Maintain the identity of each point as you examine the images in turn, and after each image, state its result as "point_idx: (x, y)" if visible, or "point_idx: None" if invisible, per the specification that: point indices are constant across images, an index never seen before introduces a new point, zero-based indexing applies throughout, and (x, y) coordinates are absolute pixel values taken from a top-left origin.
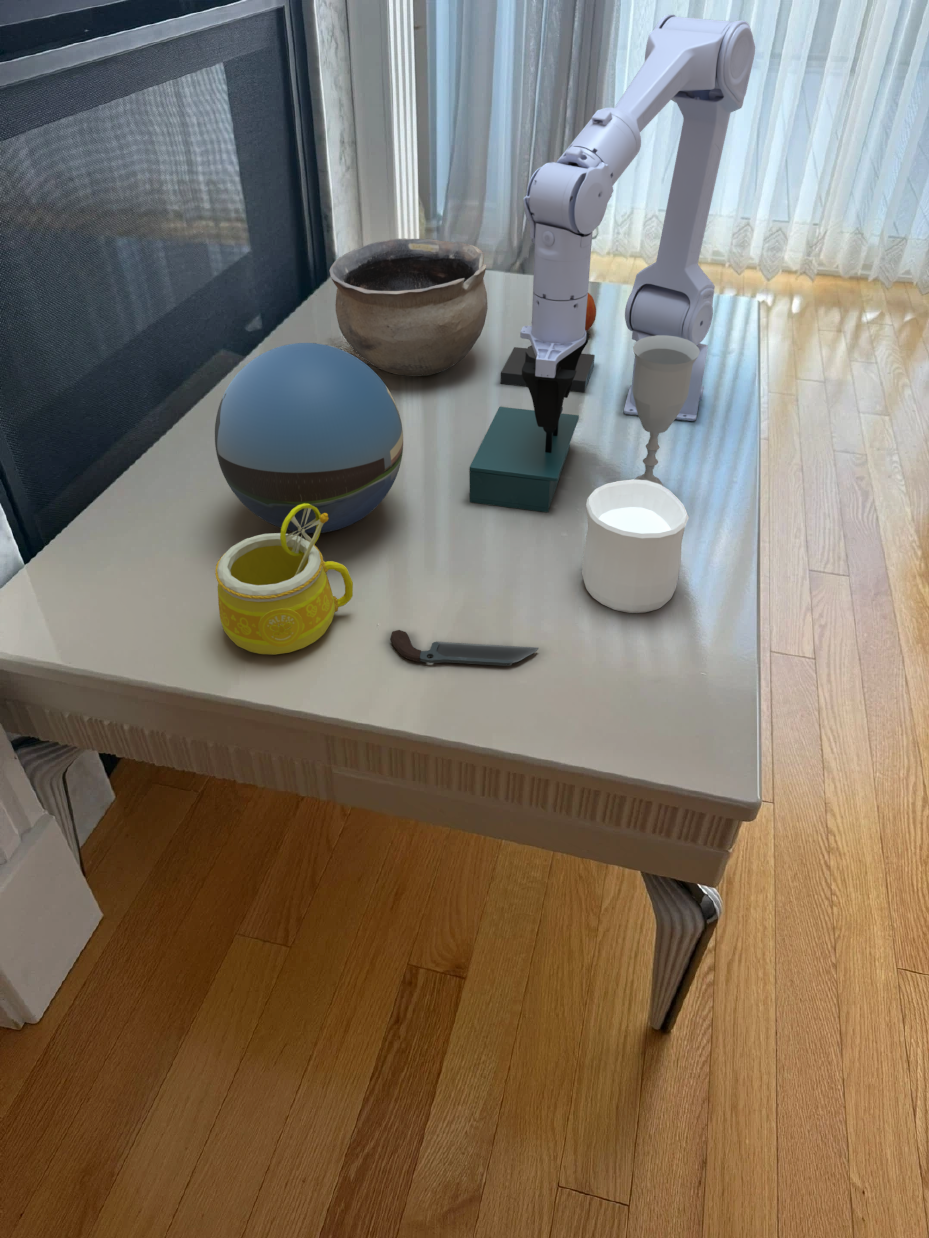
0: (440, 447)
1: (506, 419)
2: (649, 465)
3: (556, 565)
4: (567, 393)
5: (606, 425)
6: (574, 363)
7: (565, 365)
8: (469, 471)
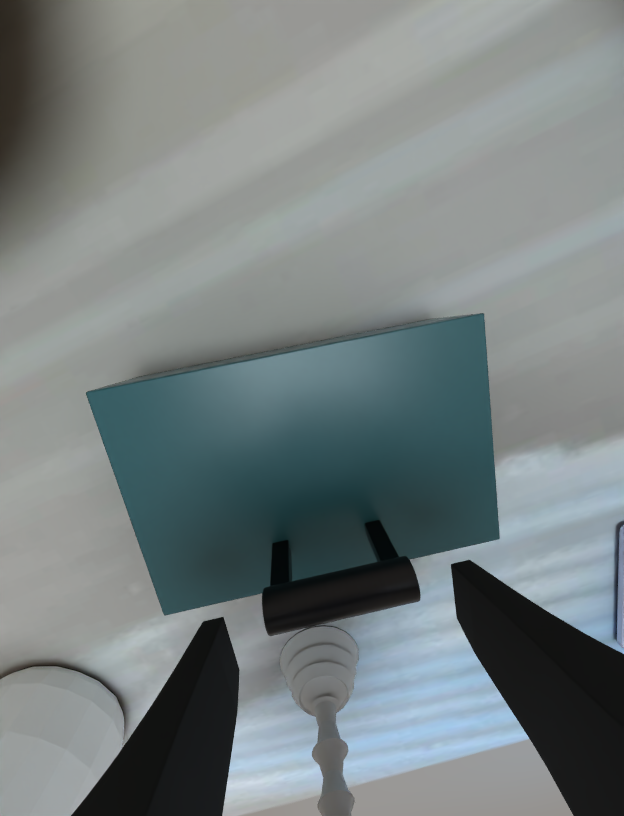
0: (342, 186)
1: (409, 370)
2: (312, 755)
3: (32, 614)
4: (465, 633)
5: (565, 508)
6: (575, 812)
7: (562, 751)
8: (95, 389)
